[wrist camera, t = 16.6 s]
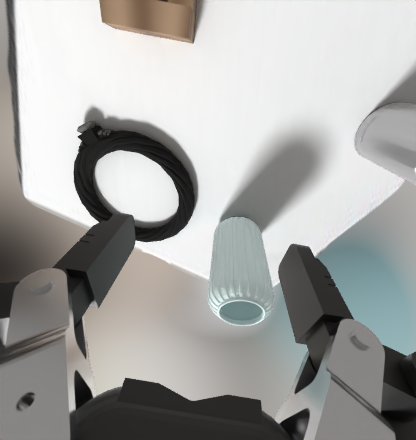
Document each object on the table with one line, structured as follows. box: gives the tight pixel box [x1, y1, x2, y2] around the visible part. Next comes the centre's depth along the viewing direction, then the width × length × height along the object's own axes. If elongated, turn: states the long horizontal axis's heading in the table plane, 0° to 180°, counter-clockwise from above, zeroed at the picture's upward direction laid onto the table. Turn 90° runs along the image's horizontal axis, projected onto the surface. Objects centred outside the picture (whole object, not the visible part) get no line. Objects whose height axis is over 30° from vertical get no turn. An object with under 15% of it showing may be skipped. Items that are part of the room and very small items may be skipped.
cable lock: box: [74, 121, 194, 242], centre depth 44 cm, size 28×4×30 cm
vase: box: [208, 216, 275, 326], centre depth 40 cm, size 12×12×22 cm
